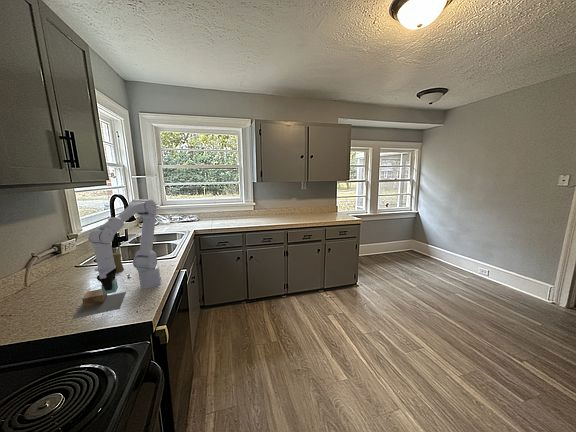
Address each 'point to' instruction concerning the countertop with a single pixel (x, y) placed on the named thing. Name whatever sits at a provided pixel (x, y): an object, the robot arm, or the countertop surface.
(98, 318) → the countertop surface
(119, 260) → the cork
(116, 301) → the mat
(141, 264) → the robot arm
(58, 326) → the countertop surface
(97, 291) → the walnut block
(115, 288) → the teal block
